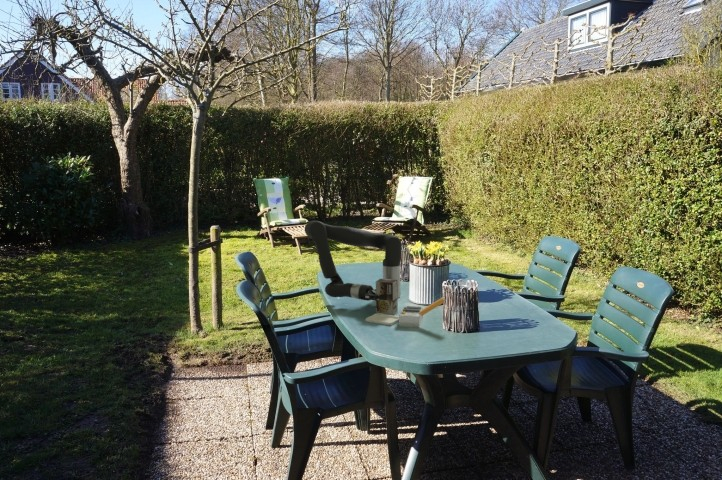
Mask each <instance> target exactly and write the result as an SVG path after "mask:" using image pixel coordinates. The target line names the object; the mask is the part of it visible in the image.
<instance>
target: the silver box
mask: <svg viewBox="0 0 722 480" xmlns="http://www.w3.org/2000/svg"><path fill="white" fill-rule="evenodd" d="M423 309H424V308H423V307H422V306H410V305H409V306H403V308H402V309H401V311H400V313H399V314H398V316H399V322H398V327H405V328H420V326H421V324H422V321H423V318H424V315H423V316H421V314H420V311H421V310H423Z"/></svg>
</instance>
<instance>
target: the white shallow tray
mask: <svg viewBox="0 0 722 480" xmlns="http://www.w3.org/2000/svg"><path fill="white" fill-rule="evenodd" d="M365 322H369V323H374V324H380V325H386V326H391V327H392V326H394V325H396V324H397V323H399V315H387V314H381V313H374V314H372V315H369V316H368V317H366V318H365Z"/></svg>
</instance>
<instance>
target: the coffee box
mask: <svg viewBox="0 0 722 480" xmlns="http://www.w3.org/2000/svg"><path fill="white" fill-rule="evenodd" d="M375 289H376V294H379V295H386V296H387V300H376V301H375V307H376V308H375V310H376V313H381V314H387V315H393V316H395V315H396V314H397V313H398V311H399V309H398V299H399V298H397V280H392V279H383V278H379V279H378V280H376V281H375ZM376 296H377V295H376ZM376 313H375V314H376Z"/></svg>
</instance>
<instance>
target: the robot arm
mask: <svg viewBox="0 0 722 480" xmlns="http://www.w3.org/2000/svg"><path fill="white" fill-rule="evenodd" d="M304 233H305V235H306V236H307V237H309V238H310V239H312V240H313V242H314V244H315V247H316V250H317V255H318V261H319V262H318V263H319V266H320V270H321V272H322V275H323V277H324V278H325V279H326V280H327V279H328V280H329V279H330V281H331V282H328V283H327V284H326V286H325V288H324V291H325V293H326V295H328V296H329V297H331V298H346V297H347V298H352V299H356V300H362V301H375V302H376V300H387V296H386V295H379V294H376V288H373V286H372V285H370V284H363V283H353V282H352V283H351V282H346V283H344V281H343V279H342V277H341V276H340V274H339V272H338V271H337V268H336V266H335V262H334V259H333V257H332V253H331V250H330V246H329V245H330V244H329V241H333V242H337V243H340V244H344V245H347V246H352V247H359V248H362V247H363V248H365V247H366V248H367V247H369V248H370V247H371V248H376V249H378V250H379V249H380V250H383V251H384V252H385V253H384V259H383V260H382V279H392V280H397V298H398V299H399V298H401V285H402V283H401V279H402V278H401V261H402V253H403V252H402V251H403V249H402V248H403V247H402V246H403V245H402V241H401V239H400V237H398V236H396V235H393V234H386V233H385V234H384V233H377V232H376V233H374V232H372V231H368V230H366V229H362V228H361V229H360V228H355V227H351V226H350V227H349V226H341V225H339V226H338V225H330V224H327V223H324V222H322V221H320V220H310V221H309V222H307V223H306V224H305V226H304ZM328 240H329V241H328ZM376 295H377V296H376Z"/></svg>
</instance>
